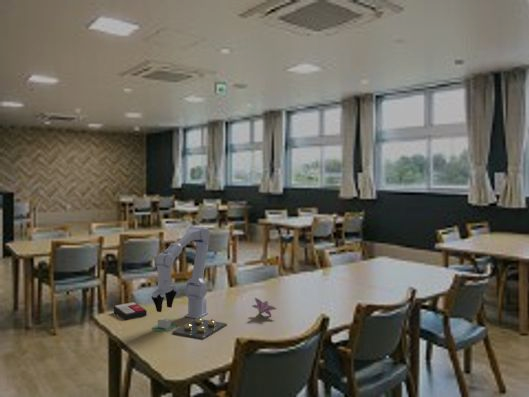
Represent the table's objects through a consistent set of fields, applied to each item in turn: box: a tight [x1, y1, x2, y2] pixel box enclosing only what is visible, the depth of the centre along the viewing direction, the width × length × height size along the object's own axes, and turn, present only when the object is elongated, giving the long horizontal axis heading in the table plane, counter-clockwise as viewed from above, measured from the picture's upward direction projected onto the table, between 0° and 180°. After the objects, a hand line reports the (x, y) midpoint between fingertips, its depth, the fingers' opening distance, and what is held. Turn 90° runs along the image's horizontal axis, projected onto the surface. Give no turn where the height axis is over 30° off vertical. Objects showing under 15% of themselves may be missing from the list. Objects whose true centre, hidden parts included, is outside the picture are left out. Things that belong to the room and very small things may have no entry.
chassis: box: [171, 317, 228, 340], centre depth 203 cm, size 20×16×4 cm
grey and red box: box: [113, 301, 148, 321], centre depth 224 cm, size 11×4×15 cm
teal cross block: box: [151, 317, 177, 333], centre depth 205 cm, size 11×9×4 cm
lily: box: [251, 297, 278, 320], centre depth 221 cm, size 12×12×10 cm
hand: (164, 309), depth 205 cm, fingers open, 7 cm apart
